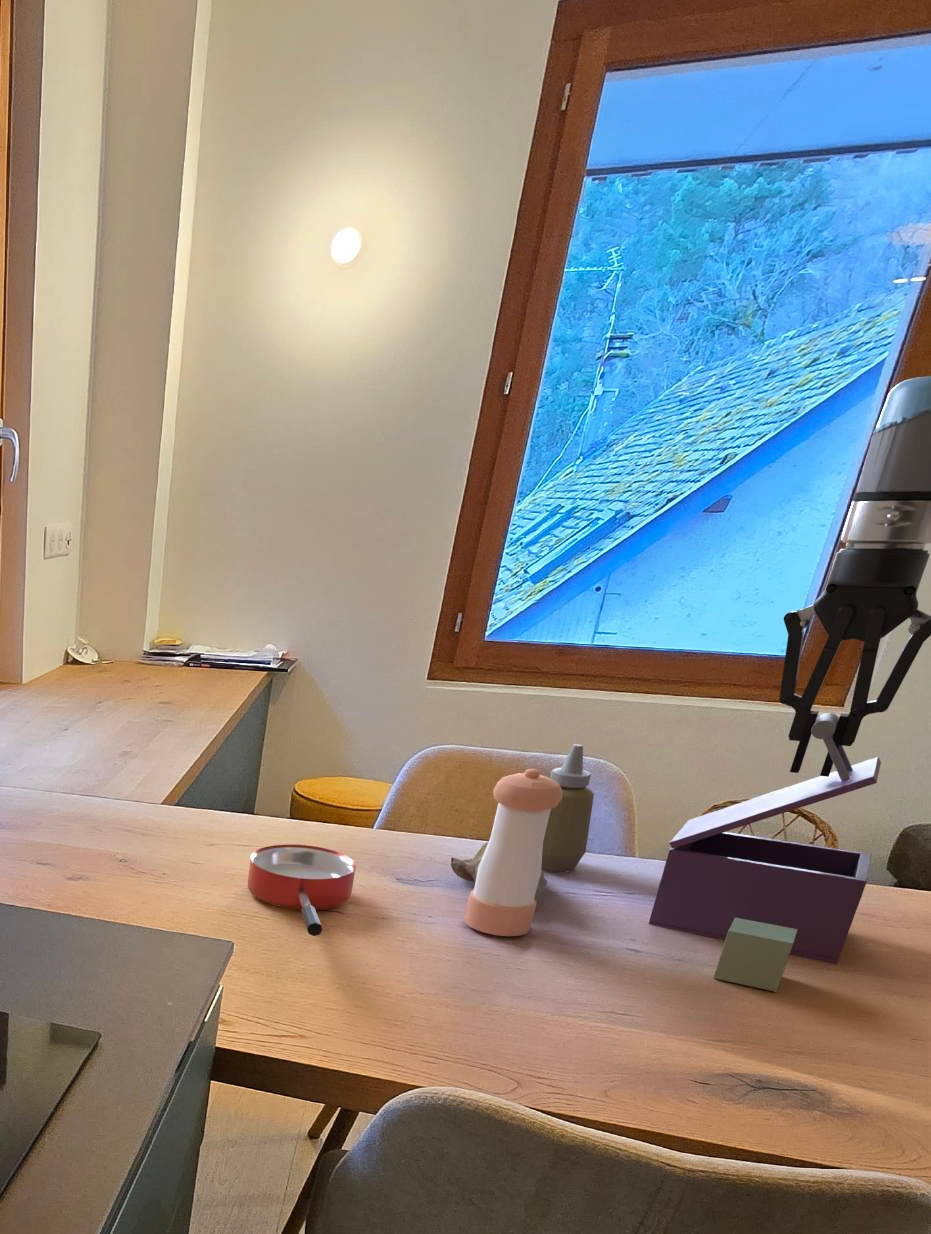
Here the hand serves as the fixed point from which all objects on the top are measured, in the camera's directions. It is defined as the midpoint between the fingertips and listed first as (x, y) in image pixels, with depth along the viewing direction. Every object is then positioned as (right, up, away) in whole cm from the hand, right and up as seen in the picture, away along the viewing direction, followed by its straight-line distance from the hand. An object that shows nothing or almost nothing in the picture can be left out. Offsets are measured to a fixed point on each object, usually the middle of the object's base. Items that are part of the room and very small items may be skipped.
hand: (809, 772), depth 117 cm
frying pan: (-52, -16, +12) cm, 56 cm away
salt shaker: (-30, -17, +10) cm, 36 cm away
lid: (-2, -3, +3) cm, 5 cm away
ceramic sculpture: (-25, -13, +20) cm, 34 cm away
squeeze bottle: (-13, -9, +30) cm, 33 cm away
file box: (-1, -18, +8) cm, 20 cm away
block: (-11, -23, -5) cm, 26 cm away
